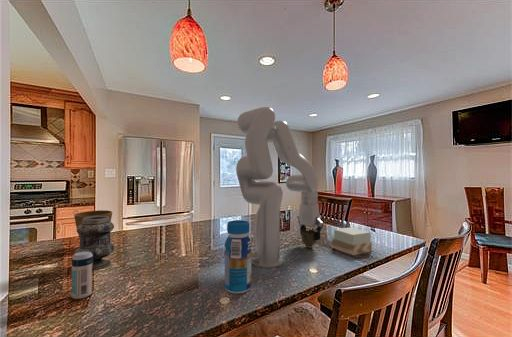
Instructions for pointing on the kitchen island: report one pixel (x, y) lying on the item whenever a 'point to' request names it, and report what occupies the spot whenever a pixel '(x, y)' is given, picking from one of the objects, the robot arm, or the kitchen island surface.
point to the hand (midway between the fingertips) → (310, 237)
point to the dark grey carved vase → (96, 239)
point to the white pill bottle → (81, 275)
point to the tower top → (352, 236)
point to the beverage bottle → (237, 257)
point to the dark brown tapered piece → (308, 238)
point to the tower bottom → (352, 247)
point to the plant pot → (82, 215)
